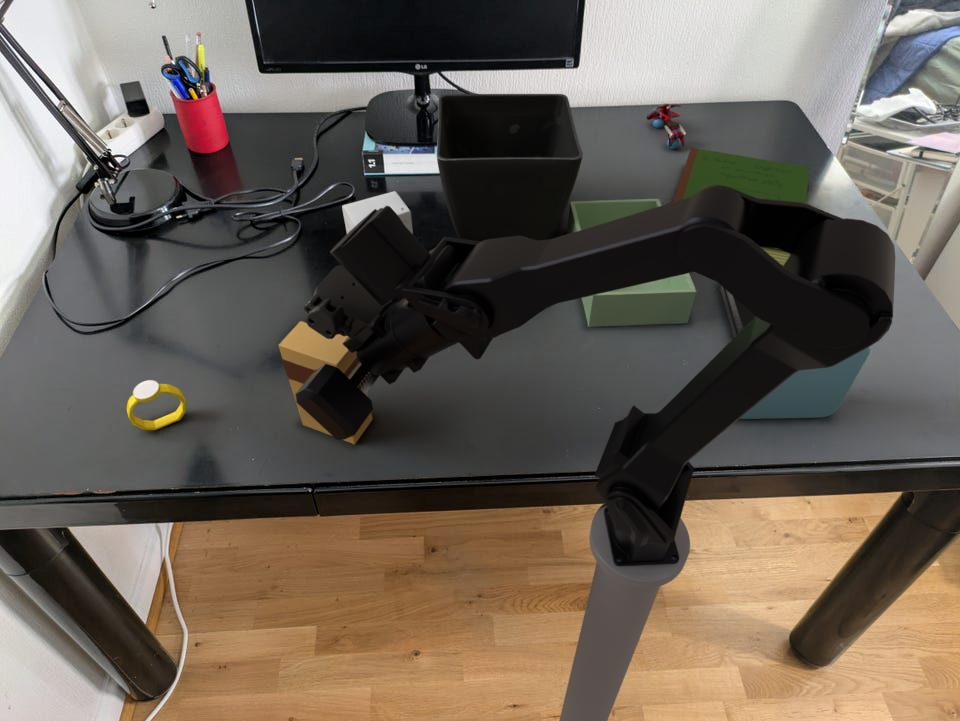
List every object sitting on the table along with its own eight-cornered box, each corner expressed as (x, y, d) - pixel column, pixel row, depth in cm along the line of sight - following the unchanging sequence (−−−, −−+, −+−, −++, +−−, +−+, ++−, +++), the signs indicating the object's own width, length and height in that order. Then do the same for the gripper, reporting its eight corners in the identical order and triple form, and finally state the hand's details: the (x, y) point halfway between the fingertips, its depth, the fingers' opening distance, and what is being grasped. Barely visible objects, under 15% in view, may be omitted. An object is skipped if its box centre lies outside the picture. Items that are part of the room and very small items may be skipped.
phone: (742, 355, 85) (721, 278, 95) (739, 361, 86) (719, 284, 96) (807, 358, 85) (779, 280, 95) (804, 364, 85) (776, 286, 96)
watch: (189, 404, 82) (172, 370, 78) (194, 421, 80) (177, 386, 76) (136, 424, 80) (116, 389, 76) (140, 440, 78) (120, 406, 74)
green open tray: (687, 323, 91) (696, 291, 87) (588, 327, 91) (592, 295, 87) (652, 229, 106) (658, 198, 102) (566, 232, 105) (569, 201, 101)
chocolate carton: (373, 419, 80) (358, 338, 71) (354, 445, 77) (336, 365, 68) (321, 400, 82) (300, 320, 73) (302, 425, 80) (277, 345, 70)
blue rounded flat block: (819, 389, 83) (858, 315, 74) (833, 418, 80) (876, 344, 71) (720, 390, 83) (747, 317, 74) (730, 420, 80) (760, 346, 71)
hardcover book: (686, 167, 118) (691, 147, 116) (801, 187, 113) (809, 167, 111) (659, 250, 102) (663, 229, 99) (792, 278, 97) (800, 256, 95)
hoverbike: (666, 119, 130) (671, 90, 126) (689, 151, 122) (696, 121, 118) (640, 122, 130) (644, 93, 125) (661, 154, 121) (667, 124, 117)
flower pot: (558, 190, 113) (567, 90, 101) (572, 261, 100) (584, 156, 88) (443, 192, 113) (438, 93, 101) (442, 264, 100) (436, 159, 88)
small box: (403, 251, 102) (396, 189, 95) (417, 272, 99) (412, 210, 91) (351, 266, 100) (340, 204, 92) (364, 288, 96) (354, 225, 89)
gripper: (405, 205, 66) (326, 267, 77) (292, 329, 54) (218, 381, 65) (481, 290, 69) (395, 338, 80) (390, 424, 57) (304, 458, 68)
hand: (332, 374), depth 73 cm, fingers open, 9 cm apart
